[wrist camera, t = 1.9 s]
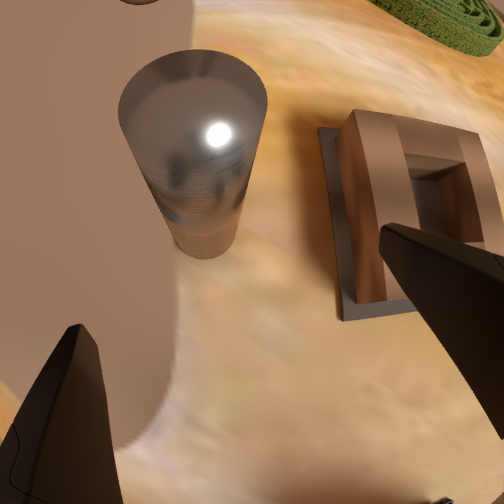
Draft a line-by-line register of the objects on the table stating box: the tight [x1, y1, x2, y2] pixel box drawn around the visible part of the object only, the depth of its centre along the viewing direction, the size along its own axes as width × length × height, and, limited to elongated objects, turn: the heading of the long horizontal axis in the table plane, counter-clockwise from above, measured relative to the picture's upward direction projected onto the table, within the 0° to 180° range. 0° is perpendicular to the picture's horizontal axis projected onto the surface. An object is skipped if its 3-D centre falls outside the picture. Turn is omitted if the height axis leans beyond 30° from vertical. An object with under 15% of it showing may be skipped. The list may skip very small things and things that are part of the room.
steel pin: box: [118, 50, 268, 259], centre depth 14 cm, size 4×4×13 cm
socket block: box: [318, 109, 504, 321], centre depth 20 cm, size 14×14×4 cm
